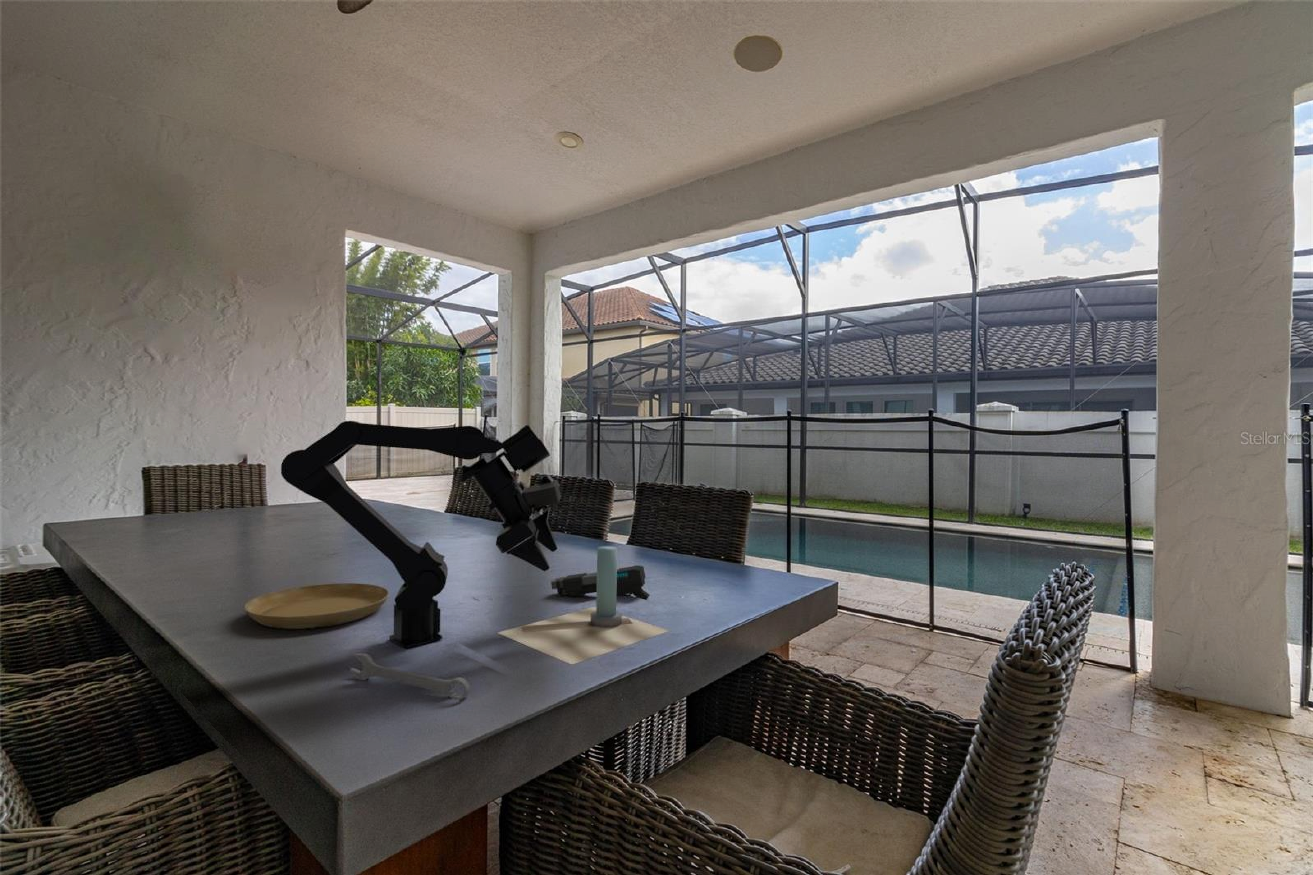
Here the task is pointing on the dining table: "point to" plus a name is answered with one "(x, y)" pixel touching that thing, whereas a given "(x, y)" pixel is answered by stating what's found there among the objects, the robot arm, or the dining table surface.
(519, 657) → the dining table surface
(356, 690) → the dining table surface
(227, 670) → the dining table surface
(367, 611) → the plant saucer
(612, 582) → the marker post
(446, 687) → the combination wrench
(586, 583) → the gun
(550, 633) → the board
